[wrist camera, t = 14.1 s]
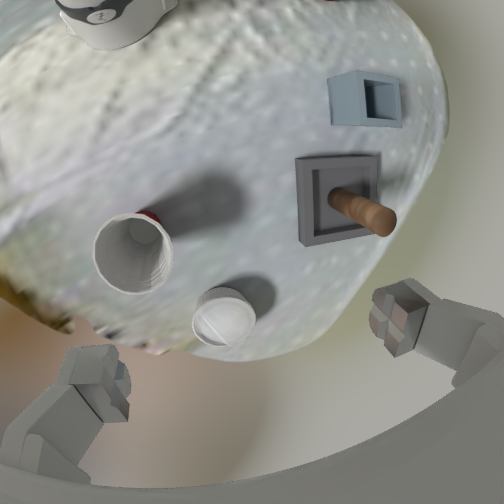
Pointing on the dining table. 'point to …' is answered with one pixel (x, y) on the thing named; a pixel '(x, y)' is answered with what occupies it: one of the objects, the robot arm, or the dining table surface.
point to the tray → (318, 187)
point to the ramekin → (223, 317)
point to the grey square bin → (365, 100)
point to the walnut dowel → (363, 211)
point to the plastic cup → (133, 253)
